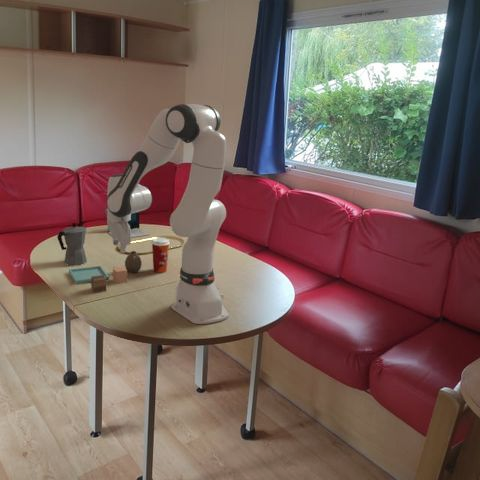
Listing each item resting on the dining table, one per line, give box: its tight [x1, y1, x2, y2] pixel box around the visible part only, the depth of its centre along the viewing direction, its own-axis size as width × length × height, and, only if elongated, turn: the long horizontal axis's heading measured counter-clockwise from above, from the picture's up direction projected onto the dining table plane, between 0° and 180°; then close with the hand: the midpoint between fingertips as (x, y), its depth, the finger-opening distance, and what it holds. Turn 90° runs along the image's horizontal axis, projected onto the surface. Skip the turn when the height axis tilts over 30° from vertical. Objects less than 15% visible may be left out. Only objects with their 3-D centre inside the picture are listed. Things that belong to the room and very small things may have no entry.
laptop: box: [107, 211, 150, 238], centre depth 253 cm, size 18×12×13 cm
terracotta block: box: [112, 266, 128, 284], centre depth 195 cm, size 4×4×5 cm
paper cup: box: [150, 238, 171, 274], centre depth 206 cm, size 8×8×14 cm
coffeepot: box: [57, 222, 87, 266], centre depth 208 cm, size 15×9×18 cm, turn 150°
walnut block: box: [90, 275, 107, 293], centre depth 185 cm, size 4×4×5 cm
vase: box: [124, 250, 143, 274], centre depth 204 cm, size 7×7×9 cm
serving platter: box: [117, 235, 185, 256], centre depth 239 cm, size 19×35×2 cm, turn 133°
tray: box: [68, 265, 110, 285], centre depth 197 cm, size 13×13×2 cm
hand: (119, 248), depth 191 cm, fingers open, 8 cm apart
